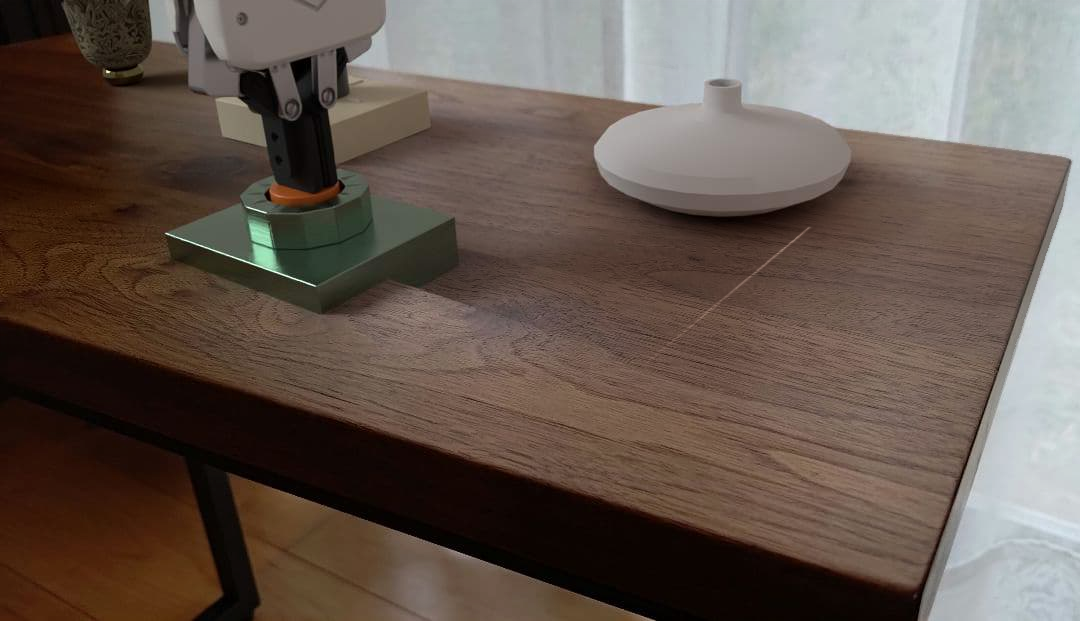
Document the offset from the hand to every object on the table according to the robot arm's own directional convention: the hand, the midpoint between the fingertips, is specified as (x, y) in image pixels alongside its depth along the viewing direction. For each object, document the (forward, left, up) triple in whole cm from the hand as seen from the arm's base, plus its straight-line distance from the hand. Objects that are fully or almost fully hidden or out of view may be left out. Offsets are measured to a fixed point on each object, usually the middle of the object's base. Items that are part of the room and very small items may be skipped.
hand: (306, 184), depth 52 cm
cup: (-48, +19, -6) cm, 52 cm away
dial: (-19, +18, -2) cm, 26 cm away
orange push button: (0, 0, -2) cm, 2 cm away
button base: (0, 0, -5) cm, 5 cm away
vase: (+13, +22, -6) cm, 26 cm away
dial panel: (-19, +18, -5) cm, 27 cm away
